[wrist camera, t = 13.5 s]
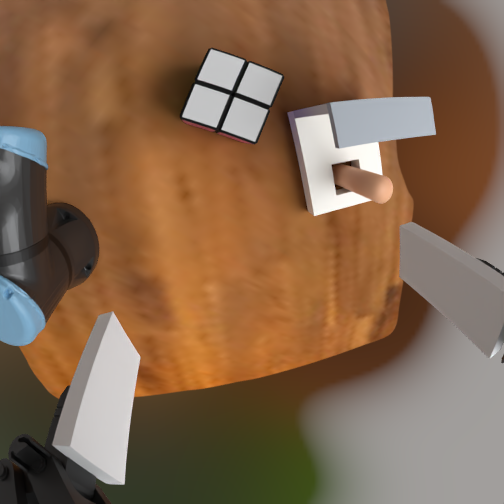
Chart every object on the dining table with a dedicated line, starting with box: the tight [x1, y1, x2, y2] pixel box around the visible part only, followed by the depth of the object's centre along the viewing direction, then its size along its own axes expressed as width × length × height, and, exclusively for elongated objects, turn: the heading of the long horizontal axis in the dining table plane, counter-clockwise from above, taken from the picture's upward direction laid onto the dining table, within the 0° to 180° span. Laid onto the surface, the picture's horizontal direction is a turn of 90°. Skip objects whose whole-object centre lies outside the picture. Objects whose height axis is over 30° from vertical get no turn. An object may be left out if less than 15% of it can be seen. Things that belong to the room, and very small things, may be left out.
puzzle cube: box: [180, 48, 284, 144], centre depth 34 cm, size 10×10×10 cm
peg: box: [332, 164, 393, 204], centre depth 40 cm, size 4×4×13 cm
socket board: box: [287, 97, 436, 216], centre depth 37 cm, size 15×17×17 cm
